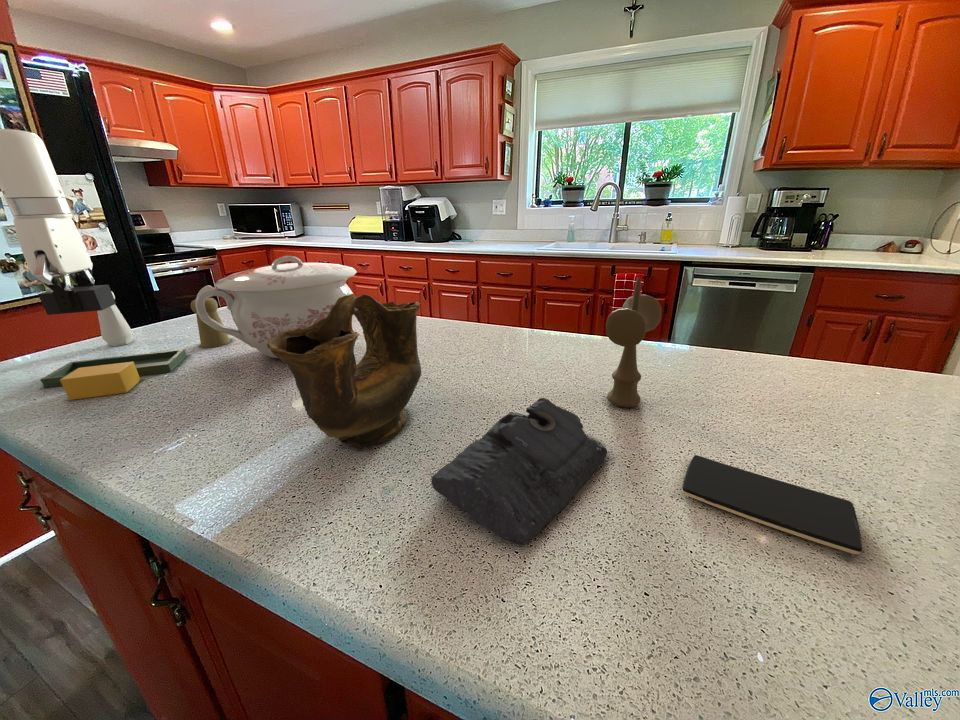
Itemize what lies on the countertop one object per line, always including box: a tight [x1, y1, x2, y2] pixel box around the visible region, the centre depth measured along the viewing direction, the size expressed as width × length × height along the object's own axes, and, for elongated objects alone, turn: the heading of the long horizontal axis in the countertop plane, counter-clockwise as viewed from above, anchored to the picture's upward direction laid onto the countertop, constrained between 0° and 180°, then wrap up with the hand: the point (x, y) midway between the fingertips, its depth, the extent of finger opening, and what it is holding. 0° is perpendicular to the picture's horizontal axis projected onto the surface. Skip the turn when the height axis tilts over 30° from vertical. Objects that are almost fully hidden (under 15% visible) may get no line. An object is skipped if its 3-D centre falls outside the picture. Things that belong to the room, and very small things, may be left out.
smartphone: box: [681, 454, 863, 555], centre depth 42 cm, size 7×1×15 cm
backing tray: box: [40, 348, 188, 388], centre depth 81 cm, size 21×9×2 cm, turn 107°
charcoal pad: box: [37, 284, 117, 316], centre depth 77 cm, size 8×6×4 cm, turn 108°
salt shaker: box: [96, 290, 134, 347], centre depth 95 cm, size 6×6×13 cm
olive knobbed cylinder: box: [190, 297, 231, 349], centre depth 93 cm, size 6×6×11 cm
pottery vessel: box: [267, 293, 422, 447], centre depth 55 cm, size 25×11×20 cm, turn 159°
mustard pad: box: [60, 362, 142, 401], centre depth 72 cm, size 8×6×4 cm, turn 107°
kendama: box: [605, 276, 663, 408], centre depth 60 cm, size 6×10×20 cm, turn 145°
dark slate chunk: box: [431, 397, 608, 545], centre depth 48 cm, size 15×22×5 cm
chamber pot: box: [195, 255, 358, 359], centre depth 86 cm, size 28×28×21 cm
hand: (82, 306), depth 78 cm, fingers closed on charcoal pad, 5 cm apart
